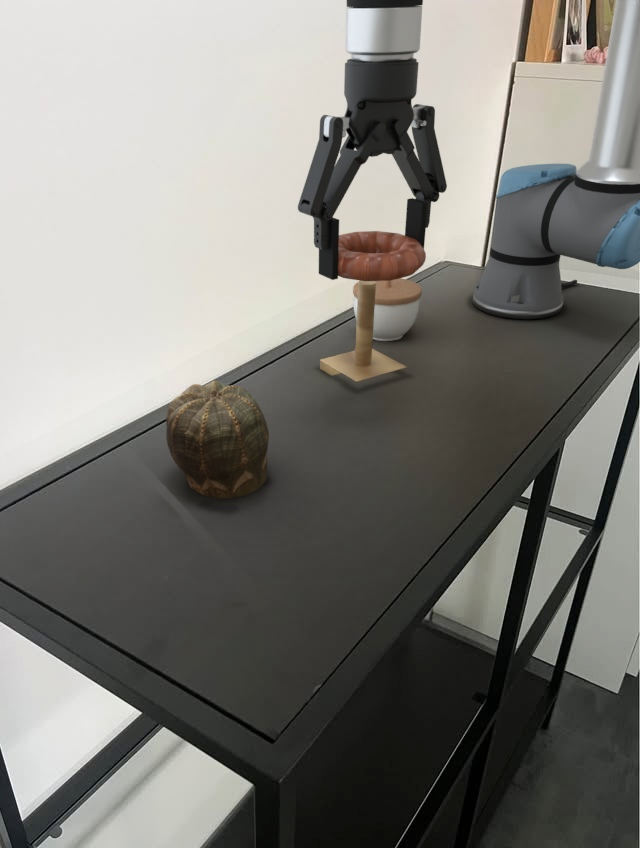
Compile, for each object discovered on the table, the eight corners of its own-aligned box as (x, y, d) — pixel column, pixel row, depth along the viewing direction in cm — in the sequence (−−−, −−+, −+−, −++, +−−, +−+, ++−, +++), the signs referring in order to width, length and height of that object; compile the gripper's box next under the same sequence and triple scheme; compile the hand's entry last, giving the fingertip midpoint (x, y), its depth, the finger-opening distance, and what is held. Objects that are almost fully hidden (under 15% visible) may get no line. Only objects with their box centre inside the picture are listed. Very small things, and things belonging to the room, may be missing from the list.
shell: (179, 461, 91) (170, 368, 85) (271, 462, 91) (269, 369, 84) (164, 514, 82) (153, 414, 75) (267, 515, 82) (265, 415, 75)
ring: (379, 247, 97) (380, 223, 95) (444, 271, 89) (447, 245, 87) (300, 264, 92) (300, 239, 90) (362, 292, 83) (363, 264, 82)
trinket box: (415, 349, 119) (421, 290, 114) (347, 344, 121) (349, 286, 116) (419, 324, 128) (424, 268, 123) (355, 320, 130) (357, 265, 125)
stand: (368, 355, 117) (373, 267, 110) (406, 376, 111) (414, 284, 103) (319, 368, 113) (321, 278, 106) (356, 391, 107) (360, 297, 100)
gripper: (444, 48, 86) (428, 241, 98) (261, 62, 76) (267, 277, 87) (493, 51, 81) (470, 255, 93) (304, 66, 70) (304, 295, 82)
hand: (372, 266), depth 90 cm, fingers closed on ring, 12 cm apart
